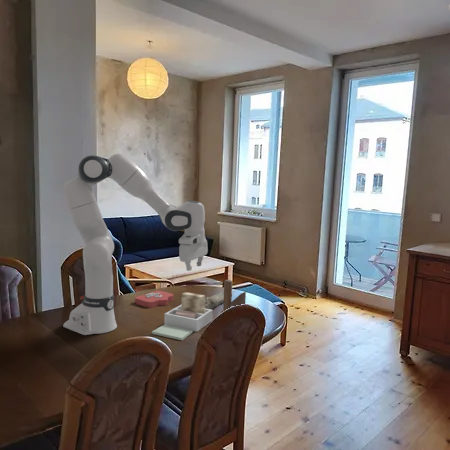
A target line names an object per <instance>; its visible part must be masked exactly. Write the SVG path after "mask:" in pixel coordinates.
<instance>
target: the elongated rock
mask: <svg viewBox="0 0 450 450" xmlns="http://www.w3.org/2000/svg"><path fill="white" fill-rule="evenodd" d="M221 304H224V291H222V292H218V293H215V294H213V295H211V296H209V297H208V296H207V297H205V301H204V308H205V309H211V310H213V309H215V308H216V307H218V306H220V305H221Z"/></svg>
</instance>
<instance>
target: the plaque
mask: <svg viewBox="0 0 450 450" xmlns="http://www.w3.org/2000/svg"><path fill="white" fill-rule="evenodd" d="M173 301H174V293H170V292H166V291H162V290H155V291H151V292H148V293H144V294H141V295H138V296H136V297H134V303H135V304H136V305H138V306H141V307H145V308H149V309H150V308H155V307H158V306H168V305H169V303H170V302H173Z"/></svg>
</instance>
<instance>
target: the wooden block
mask: <svg viewBox="0 0 450 450" xmlns="http://www.w3.org/2000/svg"><path fill="white" fill-rule="evenodd" d="M223 292H224V302H223V303H222V304H223V305H222V306H223V307H222V308H223V310H221V313H222V312H223V311H225V310H226V309H228V308H230V307H231V308H232V307H233V306H236V305H241V304H245V305H246V297H247V296H246V293H247V291H243V292H241V293H240V294H239V295H237V296H236V297H235V298H234V299H233V300H232V297H233V280H231V279H225V280H224V283H223Z"/></svg>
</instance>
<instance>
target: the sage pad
mask: <svg viewBox="0 0 450 450" xmlns="http://www.w3.org/2000/svg"><path fill="white" fill-rule="evenodd" d="M193 332H194V331H193V330H188V329H183V328H178V327H174V326H169V325H164V324H163V325H161V326H159V327H157V328H156V329H154V330H152V331H151V334H152V335H156V336H161V337H165V338H170V339H174V340H179V341H183V340H185V339H186V338H187V337H188V336H190V335H192V334H193Z"/></svg>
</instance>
